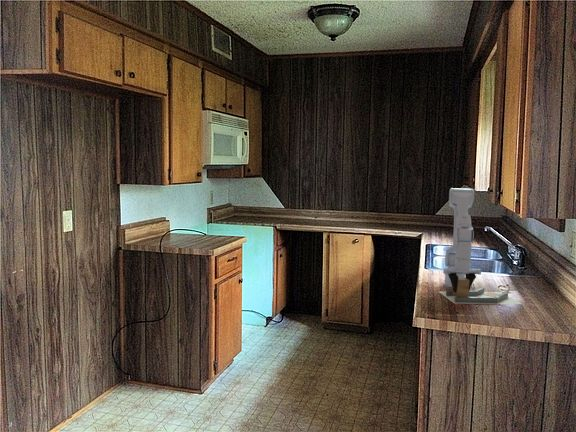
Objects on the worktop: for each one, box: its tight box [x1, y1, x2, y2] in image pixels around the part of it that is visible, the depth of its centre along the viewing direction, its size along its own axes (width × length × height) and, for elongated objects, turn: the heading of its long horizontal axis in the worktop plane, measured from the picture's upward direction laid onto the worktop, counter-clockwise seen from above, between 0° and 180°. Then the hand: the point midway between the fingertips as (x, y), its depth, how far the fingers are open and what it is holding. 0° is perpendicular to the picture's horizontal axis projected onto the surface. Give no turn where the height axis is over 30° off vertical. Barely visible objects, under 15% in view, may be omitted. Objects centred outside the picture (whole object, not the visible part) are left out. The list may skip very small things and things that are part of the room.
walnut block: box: [453, 277, 470, 297], centre depth 199 cm, size 4×4×7 cm
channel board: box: [438, 290, 523, 307], centre depth 203 cm, size 18×27×1 cm, turn 92°
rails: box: [445, 287, 509, 304], centre depth 203 cm, size 16×25×2 cm, turn 92°
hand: (460, 291), depth 199 cm, fingers closed on walnut block, 4 cm apart
